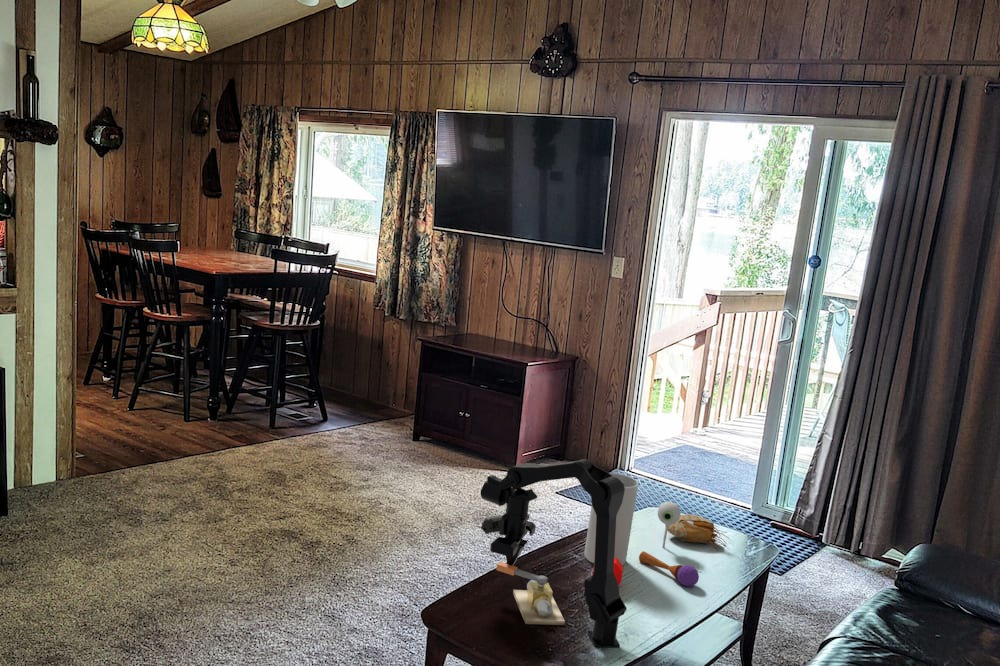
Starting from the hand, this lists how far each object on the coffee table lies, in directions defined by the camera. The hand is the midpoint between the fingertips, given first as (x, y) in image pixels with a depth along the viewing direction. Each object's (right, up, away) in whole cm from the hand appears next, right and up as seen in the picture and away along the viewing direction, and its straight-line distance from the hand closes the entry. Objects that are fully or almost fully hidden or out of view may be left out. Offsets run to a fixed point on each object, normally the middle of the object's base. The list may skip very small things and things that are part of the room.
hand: (509, 567), depth 226 cm
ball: (+27, -9, +15) cm, 32 cm away
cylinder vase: (+29, -7, +32) cm, 44 cm away
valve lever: (+3, -1, -3) cm, 5 cm away
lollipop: (+49, -7, +47) cm, 69 cm away
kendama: (+47, -10, +27) cm, 55 cm away
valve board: (+7, -9, -4) cm, 13 cm away
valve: (+7, -9, -4) cm, 13 cm away
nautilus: (+61, -7, +55) cm, 83 cm away
